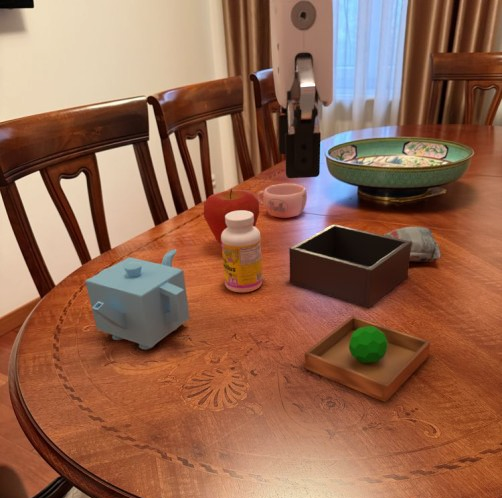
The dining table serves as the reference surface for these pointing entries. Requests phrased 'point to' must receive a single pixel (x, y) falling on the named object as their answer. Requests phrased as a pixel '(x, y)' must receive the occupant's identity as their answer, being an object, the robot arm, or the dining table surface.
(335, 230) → the dark brown open box
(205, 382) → the dining table surface
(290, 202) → the mug
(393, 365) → the tray
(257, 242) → the supplement bottle
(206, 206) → the apple
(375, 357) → the polyhedron
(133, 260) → the teapot
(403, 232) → the packaged food
